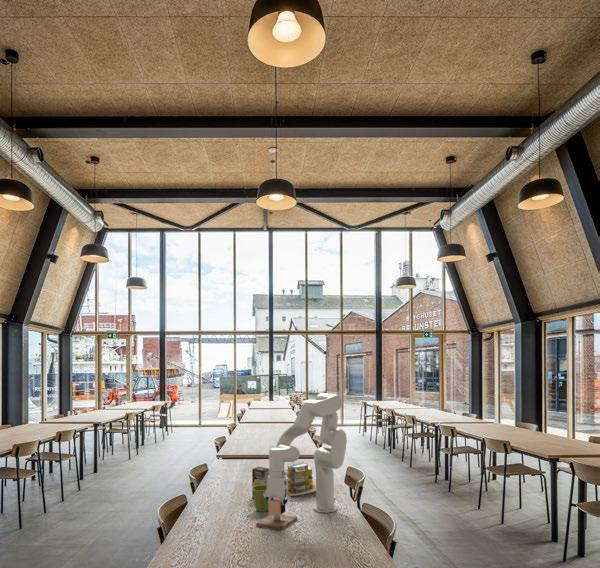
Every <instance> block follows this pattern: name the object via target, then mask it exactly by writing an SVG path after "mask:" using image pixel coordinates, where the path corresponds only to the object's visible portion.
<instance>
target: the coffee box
mask: <svg viewBox="0 0 600 568" xmlns="http://www.w3.org/2000/svg"><path fill="white" fill-rule="evenodd" d="M251 470H252V472H251V474H252V476H251V477H252V479H251V481H252V482H251V484H252V486H251V490H252V491H251V492H252V493H251V495H252V496H251V498H253V499H255V498H254V493H253V489H252V487H254V486H257V485H267V480H268V476H269V467H263V466H257V467H254V468H252V469H251Z"/></svg>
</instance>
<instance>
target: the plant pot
mask: <svg viewBox="0 0 600 568" xmlns="http://www.w3.org/2000/svg"><path fill="white" fill-rule="evenodd" d="M252 489H253V493H254V498H253V499H254V503H255V509H256V510H255V511H259V512H267V511H269V503H268V501H267V500H266V498H265V497H264V496H263V494H264V493H265V491H266V490H267V485H257V486H254V487H252V486H251V490H252Z"/></svg>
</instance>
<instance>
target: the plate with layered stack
mask: <svg viewBox="0 0 600 568" xmlns="http://www.w3.org/2000/svg"><path fill="white" fill-rule="evenodd" d="M286 466H287V469H285V472H286V473H287V474H286V475H285V476H286V479H287V486H288V494H289V495H290V496H301V495H306V494H310V493H312V492H316V481H313V477H314V476H313V469H312V468H311V467H310V466H309V464H308V463H307V462H306V461H305V460H301V461H297V462H296V461H294V462H289V463H286Z"/></svg>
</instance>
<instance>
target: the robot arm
mask: <svg viewBox="0 0 600 568" xmlns="http://www.w3.org/2000/svg"><path fill="white" fill-rule="evenodd" d="M342 407H343V398H342V396H340V395H339V394H335V393H324V392H323V393H321V392H320V393H318V394H317V395H316V396H315V399H307V400H305V401H304V402H303V403H302V406H301V408H300V410H299V412H298V414H297V416H296V418H295V420H294V422H293V424H292V425H290V426H289V427H288V428H287V429H286V430H285V431H284V432H283V433H282V435H281V436H280V437H279V439H278V442H277V444H276V446H275V447H271V448H269V451H268V466H269V467H268V468H269V476H268V480H267V490H266V491H265V493H264V494H263V496H264V497H265V498H266V500H267V501H268V503H269V501H270V500H272V499H273V498H277V499H280V501H281V504H282V505H281V514H282V515H284V512H285V513H286V505H287V503H288V502H289V501H290V500H291V499H292V497H291V496H292V495H289V494H288V486H287V476H286V474H287V473H286V469H285V463H295V462H296V461H298V460H299V458H300V456H301V452H300V450H299V448H298V447H296V446H293V445H291V443H292V442H293V441H294V440H295V439H296V438H298V437H299V436H303V435H305V434H307V433H308V432H309V431H310V428H311V426H312V424H313V422H314V419H315V417H316V418H321V427H320V432H319V441H320V443H321V444H323V445H326V446H330V447H331V448H329V447H324V446H321V447H318V448H317V449H315V451H314V452H313V453H314V454H313V462H314V467H315V468H314V469H315V482H316V490H315V500H316V502H315V505H313V507H312V508H313V511H315V512H317V513H323V514H325V513H327V514H331V513H334V512H336V511H337V510H338V506H337V505H336V504H335V501H336V500H337V498H336V497H335V485H334V484H335V477H334V476H335V475H334V474H335V473H334V470H338V469H340V468H342V466H343V465H344V462H345V455H346V449H347V443H348V438H347V434H346V431H345V430H343V429H341V428H338V422H339V421H338V420H339V417H338V416H339V415H338V413H337V411H339V410H341V409H342ZM333 469H334V470H333Z"/></svg>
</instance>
